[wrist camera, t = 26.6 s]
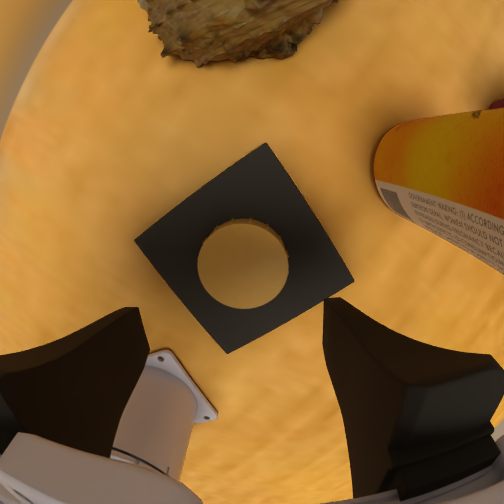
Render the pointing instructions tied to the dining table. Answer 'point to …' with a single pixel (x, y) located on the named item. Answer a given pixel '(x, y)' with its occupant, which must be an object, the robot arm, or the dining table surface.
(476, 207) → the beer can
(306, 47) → the dining table surface
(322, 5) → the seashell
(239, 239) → the lid
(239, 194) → the coaster
